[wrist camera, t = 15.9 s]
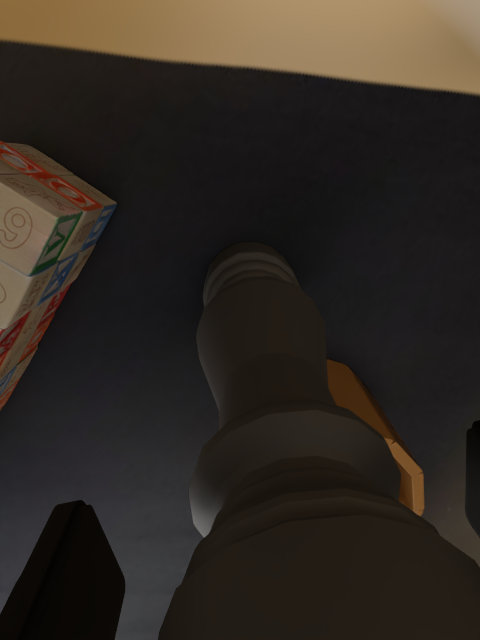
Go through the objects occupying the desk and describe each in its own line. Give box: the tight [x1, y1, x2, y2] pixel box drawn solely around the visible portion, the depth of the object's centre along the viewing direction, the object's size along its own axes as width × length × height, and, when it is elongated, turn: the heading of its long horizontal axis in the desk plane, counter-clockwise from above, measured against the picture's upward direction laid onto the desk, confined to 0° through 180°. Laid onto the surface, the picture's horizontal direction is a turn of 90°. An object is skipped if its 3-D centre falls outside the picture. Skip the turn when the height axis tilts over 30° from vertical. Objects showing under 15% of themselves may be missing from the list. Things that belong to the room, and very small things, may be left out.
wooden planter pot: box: [327, 359, 424, 516], centre depth 27 cm, size 11×11×9 cm
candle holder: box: [158, 241, 480, 640], centre depth 15 cm, size 6×6×25 cm
